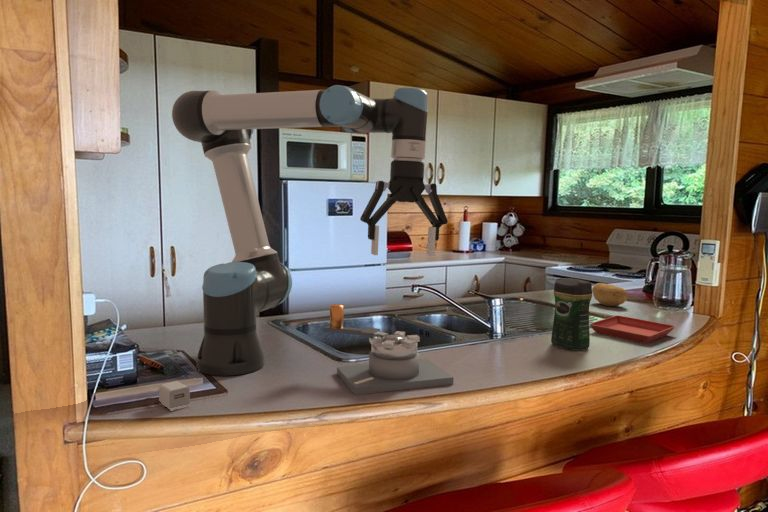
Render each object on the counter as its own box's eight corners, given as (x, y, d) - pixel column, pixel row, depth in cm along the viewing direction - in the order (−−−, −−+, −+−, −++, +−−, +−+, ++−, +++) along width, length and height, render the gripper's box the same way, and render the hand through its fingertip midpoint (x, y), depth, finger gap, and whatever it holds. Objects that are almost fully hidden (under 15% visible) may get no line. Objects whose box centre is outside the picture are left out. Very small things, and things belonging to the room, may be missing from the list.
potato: (615, 310, 200) (616, 288, 199) (585, 303, 213) (586, 282, 212) (634, 308, 204) (635, 286, 203) (603, 301, 217) (605, 281, 216)
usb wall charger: (169, 412, 102) (168, 391, 102) (153, 402, 107) (152, 381, 107) (190, 406, 105) (189, 386, 105) (173, 396, 110) (173, 377, 109)
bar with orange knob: (422, 348, 126) (423, 307, 125) (411, 362, 115) (412, 317, 114) (334, 340, 132) (335, 300, 130) (316, 352, 121) (316, 309, 120)
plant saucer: (648, 347, 153) (649, 335, 153) (587, 334, 167) (588, 323, 166) (675, 336, 165) (676, 325, 165) (616, 325, 179) (616, 315, 178)
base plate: (354, 394, 112) (354, 368, 112) (336, 373, 125) (337, 349, 125) (453, 384, 120) (454, 359, 119) (426, 364, 133) (427, 342, 132)
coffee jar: (594, 349, 149) (598, 280, 147) (574, 353, 145) (578, 282, 143) (565, 340, 157) (569, 275, 155) (545, 344, 153) (549, 277, 151)
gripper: (358, 156, 117) (354, 256, 120) (465, 163, 125) (459, 257, 128) (349, 157, 125) (345, 252, 127) (451, 164, 132) (446, 252, 135)
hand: (402, 254), depth 127 cm, fingers open, 13 cm apart
